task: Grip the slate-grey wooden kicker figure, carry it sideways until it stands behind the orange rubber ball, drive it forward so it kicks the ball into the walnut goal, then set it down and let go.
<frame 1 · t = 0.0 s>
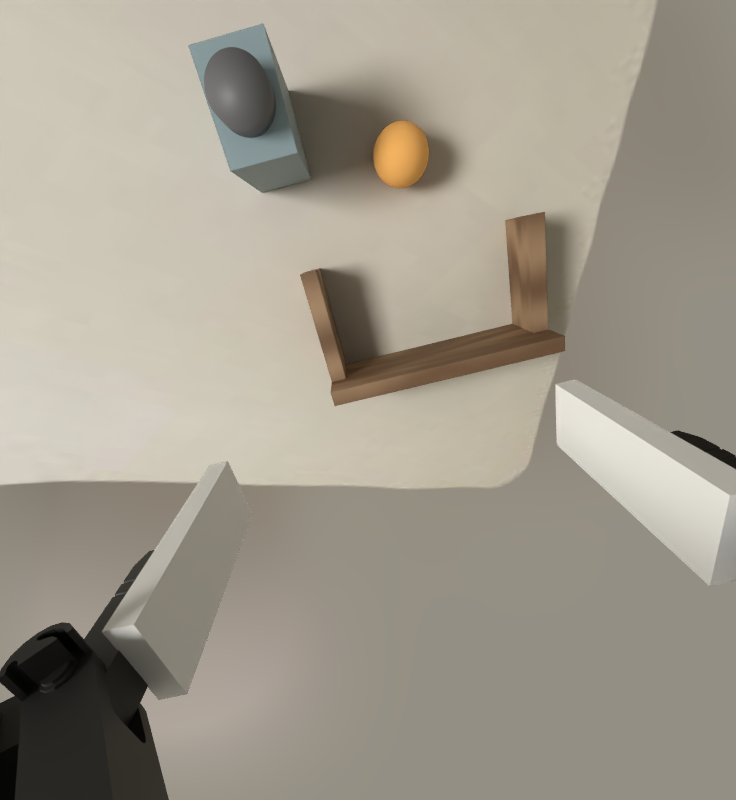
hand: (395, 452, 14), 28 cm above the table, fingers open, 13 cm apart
goal: (420, 297, 39), on the table
ball: (400, 155, 32), point 2 cm above the table
kicker: (274, 143, 33), on the table
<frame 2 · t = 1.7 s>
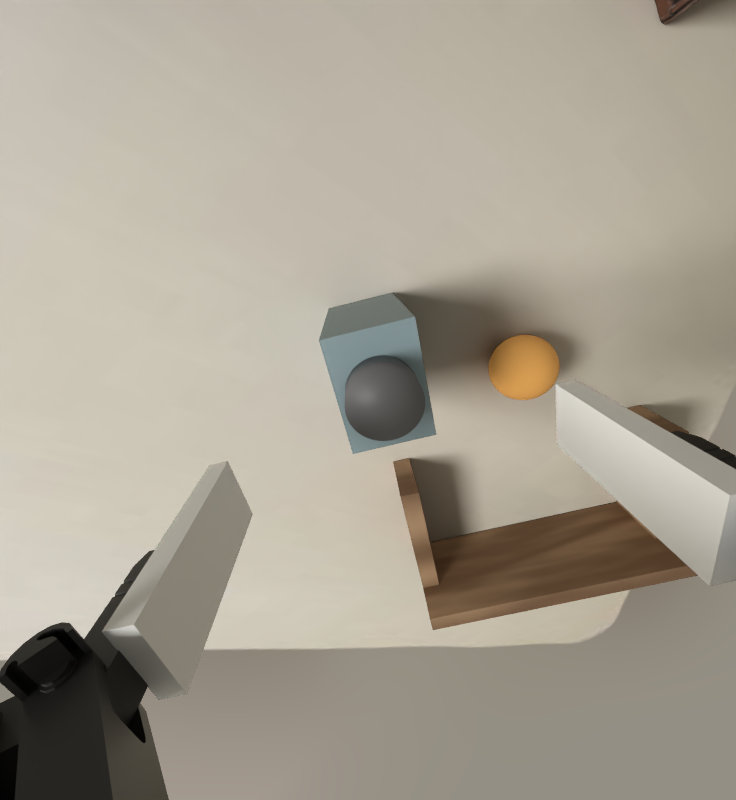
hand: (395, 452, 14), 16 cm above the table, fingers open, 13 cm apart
goal: (517, 481, 35), on the table
ball: (522, 367, 27), point 2 cm above the table
kicker: (370, 344, 28), on the table
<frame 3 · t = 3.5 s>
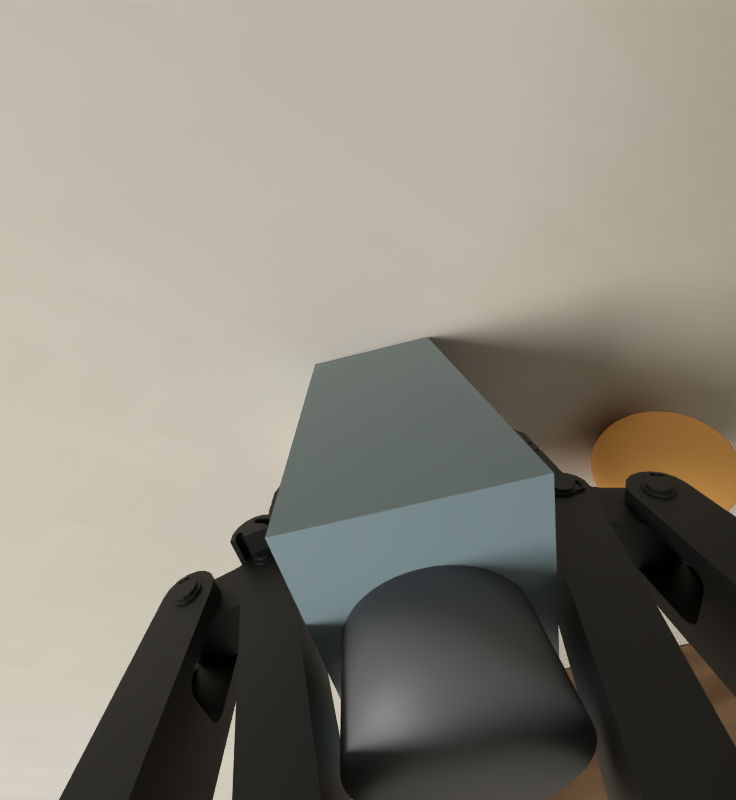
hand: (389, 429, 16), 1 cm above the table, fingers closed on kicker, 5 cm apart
goal: (608, 610, 23), on the table
ball: (658, 468, 15), point 2 cm above the table
kicker: (387, 421, 16), on the table, touching gripper
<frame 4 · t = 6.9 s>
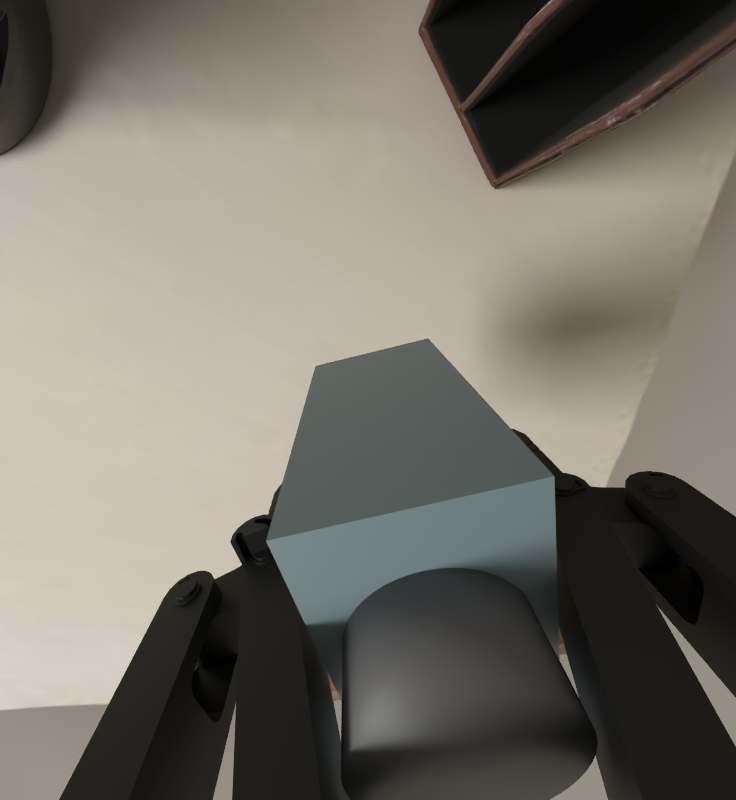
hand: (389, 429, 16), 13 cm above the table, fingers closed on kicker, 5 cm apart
letter holder: (599, 3, 21), on the table
kicker: (388, 422, 16), point 12 cm above the table, touching gripper
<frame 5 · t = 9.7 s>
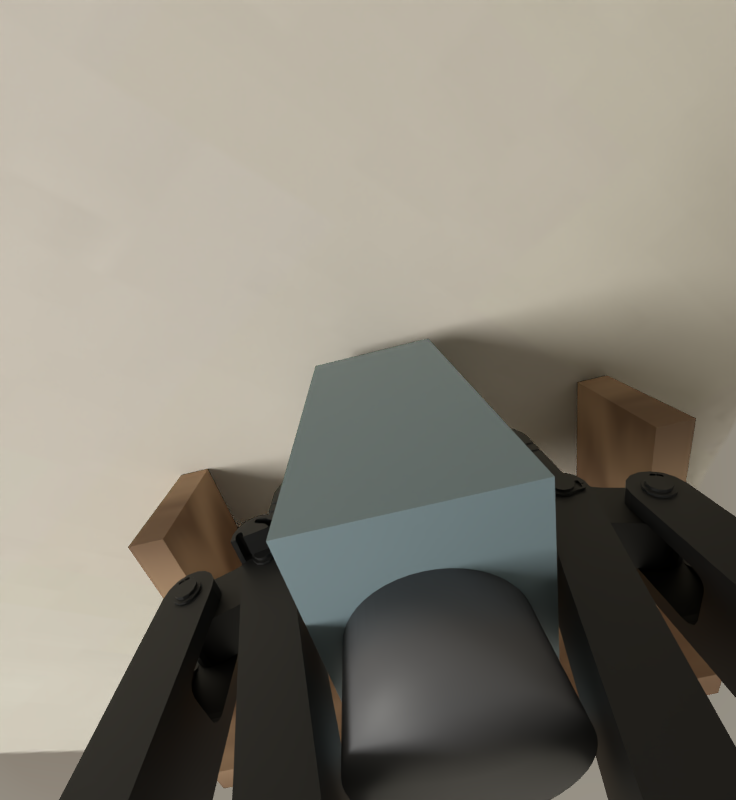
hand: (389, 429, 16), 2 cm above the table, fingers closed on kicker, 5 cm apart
goal: (407, 506, 21), on the table
kicker: (388, 422, 16), point 2 cm above the table, touching gripper
when the fingers open (2 cm above the table, at t = 10.6 s): kicker drops 1 cm, on the table.
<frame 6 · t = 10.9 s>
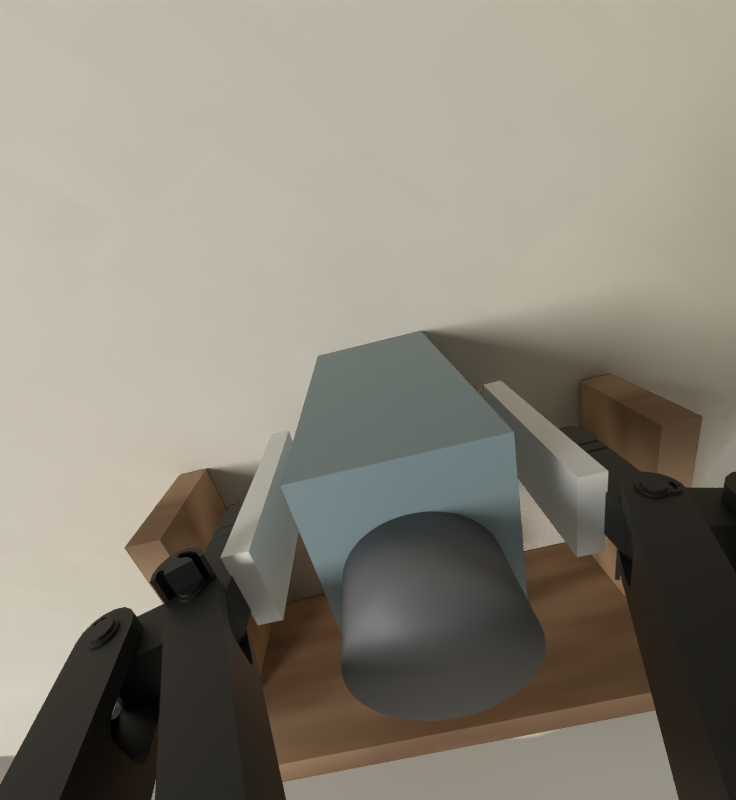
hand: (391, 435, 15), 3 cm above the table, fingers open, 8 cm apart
goal: (408, 507, 20), on the table
kicker: (384, 408, 18), on the table
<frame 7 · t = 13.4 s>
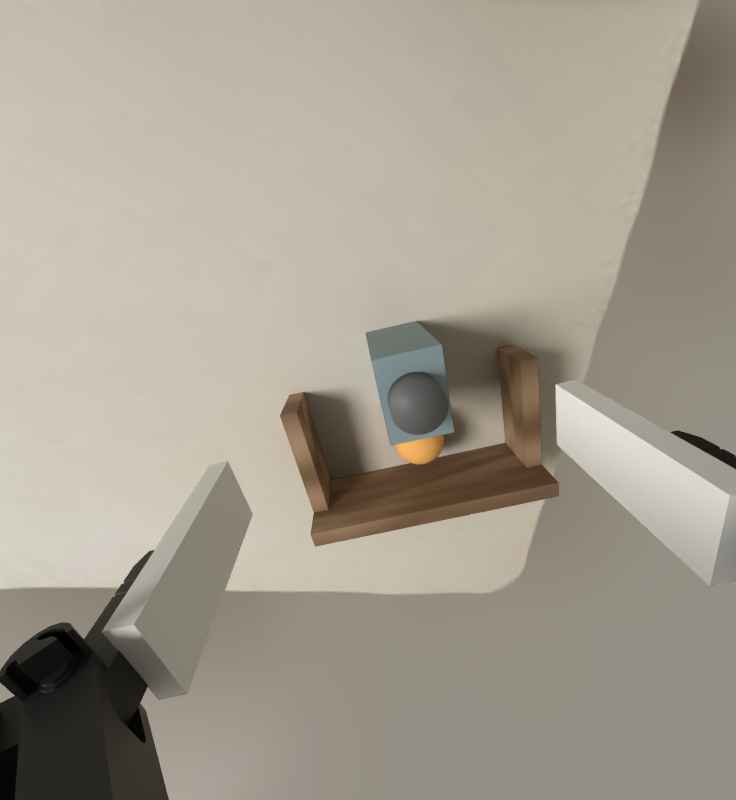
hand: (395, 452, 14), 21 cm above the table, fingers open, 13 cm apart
goal: (409, 418, 37), on the table
ball: (418, 439, 35), point 2 cm above the table, tilted 43°
kicker: (397, 361, 35), on the table
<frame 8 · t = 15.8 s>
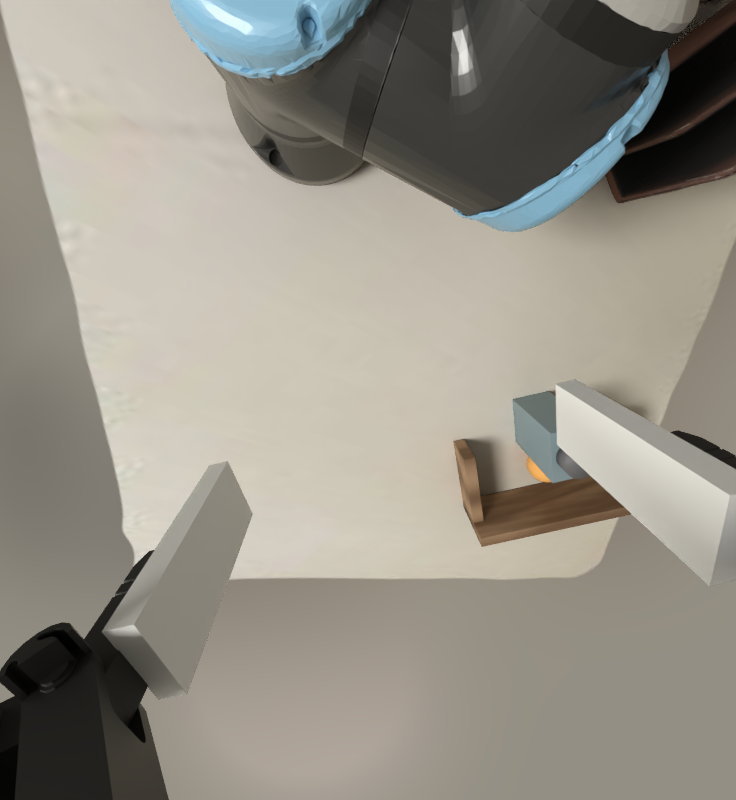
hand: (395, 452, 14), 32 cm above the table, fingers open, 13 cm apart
letter holder: (685, 97, 36), on the table
goal: (533, 454, 52), on the table
ball: (546, 464, 50), point 2 cm above the table, tilted 68°
kicker: (531, 417, 50), on the table
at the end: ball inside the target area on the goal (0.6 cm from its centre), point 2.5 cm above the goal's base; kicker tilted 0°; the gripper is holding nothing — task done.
